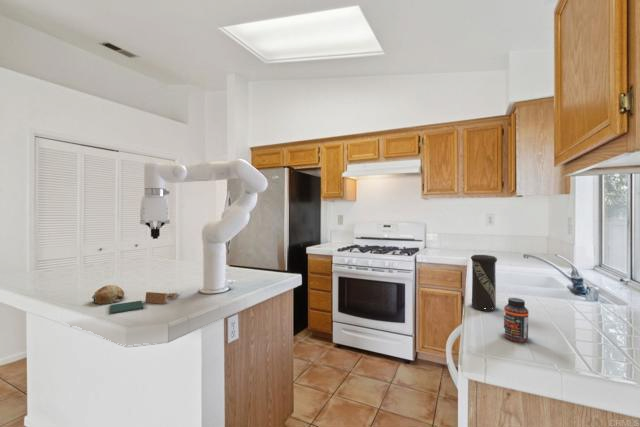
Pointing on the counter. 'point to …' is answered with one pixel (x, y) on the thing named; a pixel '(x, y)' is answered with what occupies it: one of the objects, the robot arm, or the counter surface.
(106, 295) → the bread roll
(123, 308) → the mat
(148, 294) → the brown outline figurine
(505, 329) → the supplement bottle
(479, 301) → the container
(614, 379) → the counter surface
